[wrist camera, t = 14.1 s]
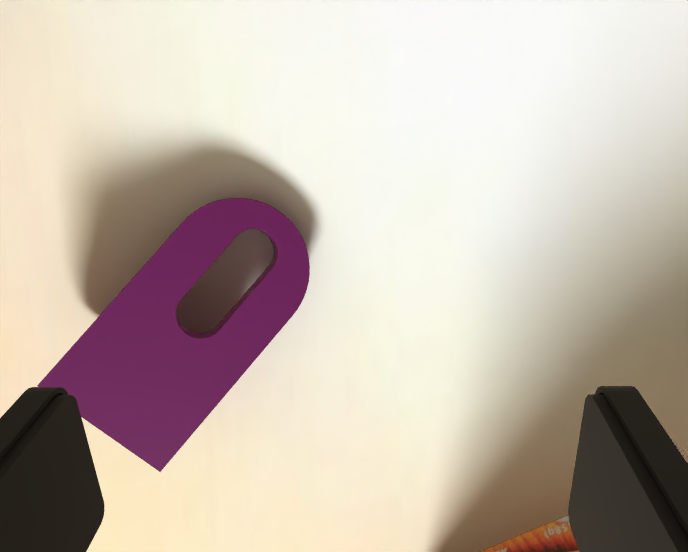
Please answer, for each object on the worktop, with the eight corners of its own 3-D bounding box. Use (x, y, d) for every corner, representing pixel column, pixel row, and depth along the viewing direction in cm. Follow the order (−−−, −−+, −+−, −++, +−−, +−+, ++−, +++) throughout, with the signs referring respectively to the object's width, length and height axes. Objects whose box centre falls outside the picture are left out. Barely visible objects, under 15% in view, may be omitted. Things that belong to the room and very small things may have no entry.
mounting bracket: (223, 177, 46) (64, 355, 45) (231, 167, 38) (36, 385, 36) (312, 256, 49) (164, 429, 47) (337, 263, 41) (159, 472, 39)
